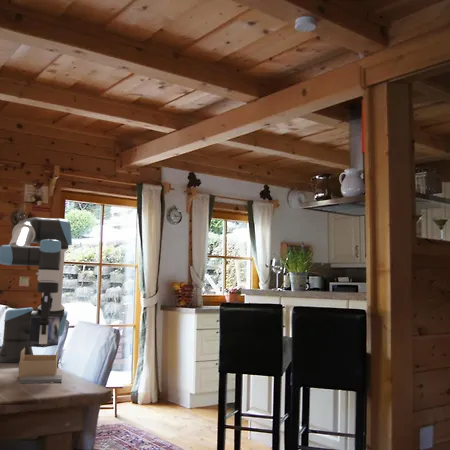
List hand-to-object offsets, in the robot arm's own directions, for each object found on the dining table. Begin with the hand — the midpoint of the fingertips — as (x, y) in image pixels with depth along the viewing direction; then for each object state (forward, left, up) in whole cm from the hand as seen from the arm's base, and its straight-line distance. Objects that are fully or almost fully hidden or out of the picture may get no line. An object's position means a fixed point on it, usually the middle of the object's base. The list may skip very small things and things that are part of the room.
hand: (43, 342), depth 198 cm
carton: (-16, -2, -13) cm, 21 cm away
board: (0, 0, -13) cm, 13 cm away
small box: (0, 0, -2) cm, 2 cm away
